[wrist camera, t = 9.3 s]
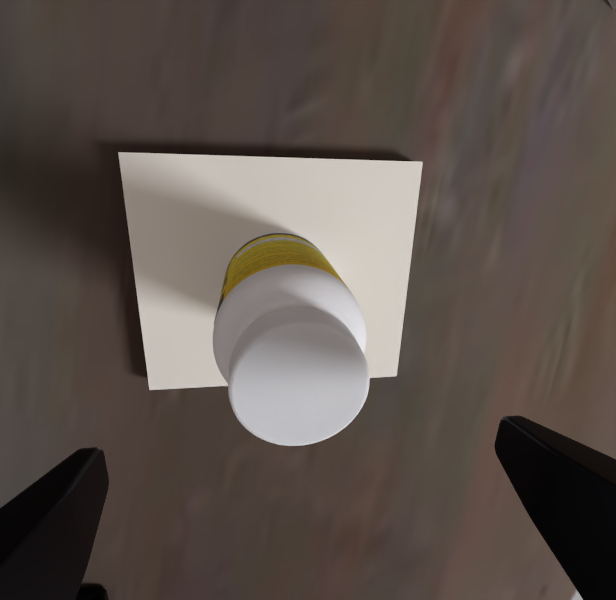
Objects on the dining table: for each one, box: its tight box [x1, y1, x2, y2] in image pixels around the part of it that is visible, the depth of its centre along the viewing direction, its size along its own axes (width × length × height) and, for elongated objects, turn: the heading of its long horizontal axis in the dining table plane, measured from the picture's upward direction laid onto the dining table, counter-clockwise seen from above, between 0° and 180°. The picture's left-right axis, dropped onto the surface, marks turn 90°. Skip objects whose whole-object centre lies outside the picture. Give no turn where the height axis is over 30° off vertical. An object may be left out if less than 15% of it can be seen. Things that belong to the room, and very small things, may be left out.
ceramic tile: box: [118, 152, 423, 390], centre depth 20 cm, size 14×12×1 cm
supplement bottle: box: [213, 232, 370, 446], centre depth 15 cm, size 5×5×10 cm
